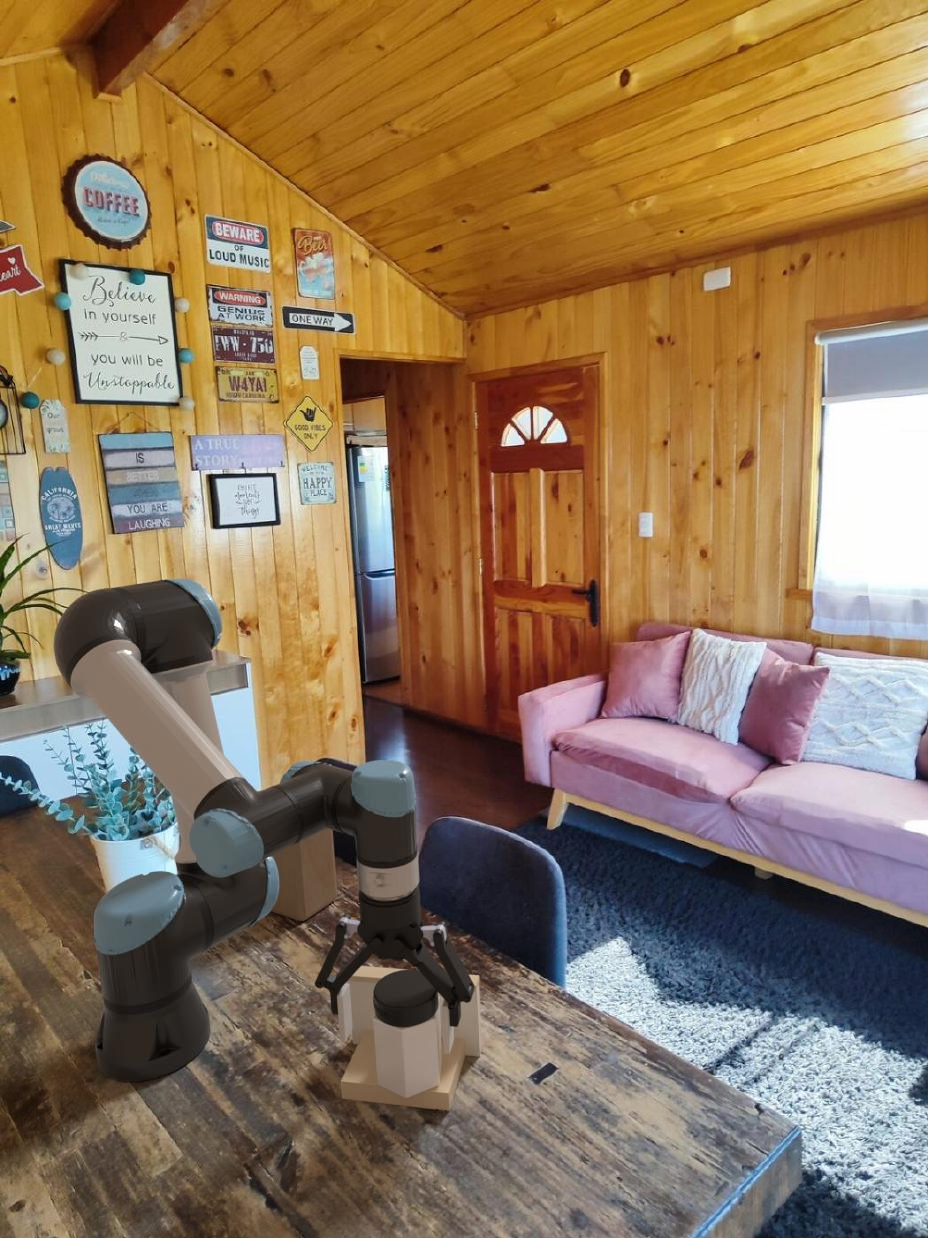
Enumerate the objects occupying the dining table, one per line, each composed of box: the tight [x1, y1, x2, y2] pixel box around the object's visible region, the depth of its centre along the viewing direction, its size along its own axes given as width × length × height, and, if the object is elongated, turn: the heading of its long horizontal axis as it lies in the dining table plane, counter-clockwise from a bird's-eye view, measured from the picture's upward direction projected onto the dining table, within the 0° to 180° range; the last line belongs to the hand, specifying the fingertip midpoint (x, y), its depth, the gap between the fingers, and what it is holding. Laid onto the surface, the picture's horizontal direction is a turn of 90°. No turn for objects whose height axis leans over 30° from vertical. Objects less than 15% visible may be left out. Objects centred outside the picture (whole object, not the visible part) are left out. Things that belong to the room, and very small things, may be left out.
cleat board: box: [340, 965, 483, 1112], centre depth 108 cm, size 18×12×11 cm, turn 79°
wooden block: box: [270, 829, 338, 922], centre depth 151 cm, size 10×10×20 cm
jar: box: [373, 969, 443, 1098], centre depth 104 cm, size 9×8×12 cm
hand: (397, 1041), depth 105 cm, fingers open, 13 cm apart
